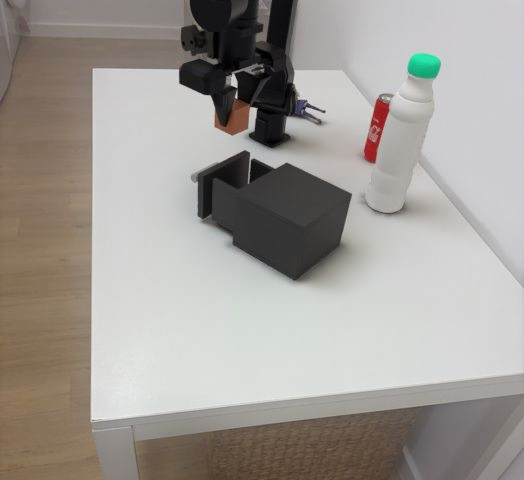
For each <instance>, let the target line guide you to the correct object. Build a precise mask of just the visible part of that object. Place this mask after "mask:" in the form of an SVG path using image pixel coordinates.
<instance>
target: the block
mask: <svg viewBox="0 0 524 480" xmlns="http://www.w3.org/2000/svg"><path fill="white" fill-rule="evenodd" d="M250 111H251V108H250V104H248V103H245V102H243V101H241V100H239V99H237V97H235V99H234V103H233V106H232V110H231V114H230V117H229V121H228V123H227V126H226V127H223V126H221V125H220V123H219V120H218V117H217V113H216V110H215V109H214V124H213V125H214V127H213V128H216V129H218V130H220V131H222V132H223V133H225V134H228V135H230V136H232V137H233V136H236V135H237V134H239V133H242V132H244V131H247V130H249V124H250Z"/></svg>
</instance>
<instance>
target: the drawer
mask: <svg viewBox="0 0 524 480" xmlns="http://www.w3.org/2000/svg"><path fill="white" fill-rule="evenodd" d="M274 169H276V168H275V167H273V166H271V165H269V164H267V163H265V162H263V161H261V160H259V159H257V158H254V157H253V158H251V152H250V151H249V150H246V149H244V150H242V151H240V152H238V153H236V154H234V155H232V156H230V157H228V158H225V159H224V160H222V161H220V162H218V161H216V162H213V163H211V164H210V165H208V166H206V167H204V168H201V169H200V170H198V171H196V172H194V173H191V174H190V180H191V181H192V182H193V183H197V217H198V218H200V219H201V220H205V219H207V218H208V217H210V216H211V220H212V221H214V222H215V223H217V224H218V225H221V226H222V227H224V228H226V229H227V230H229V231H230V232H233V225H234V209H235V192H236V191H237V190H238V189H240V188H242V187H244V186H245V185H247V184H249V183H251V182H253V181H254V180H256V179H258V178H260V177H262V176H263V175H265V174H267V173H269V172H270V171H272V170H274Z"/></svg>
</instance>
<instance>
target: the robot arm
mask: <svg viewBox="0 0 524 480" xmlns="http://www.w3.org/2000/svg"><path fill="white" fill-rule="evenodd" d="M298 2H299V0H271V1H270V9H269V10H270V11H269V16H268V24H267V31H266V38H265V40H259V41H257V36H258V34H259V33H260V34H261V33H263V32H264V23H262V22H259V8H260V0H189V9H190V13H191V16H192V17H193V20H194V21H195V24H190V25H185V26H181V27H180V43H181V47H182V50H183V51H184V52H190V56H191V57H196V56H197V55H201V54H206V58H208V59H210V60H216V63H215V64H214V63H211V62H209V61H206V60H205V59H202V58H197V59H193V60H190V61H187V62H183V63H182V64H181V66H179V68H178V84H179V85H181V86H183V87H185V88H188V89H190V90H192V91H194V92H196V93H199V94H201V95H203V96H210V98H211V100H212V104H213V106H214V111H215V110H216V113H217V117H218V120H219V123H220V125H221V126H223V127H226V126H227V123H228V121H229V117H230V114H231V110H232V106H233V103H234V99H235V98H236V99H239V100H241V101H243V102H245V103H248V104H250V109H251V108H254V109H256V115H255V121H254V129H253V131H251V132H249V133H248V137H249V138H251V139H253V140H254V141H257V142H259V143H262V144H264V145H266V146H268V147H270V148H274V147H276V146H277V145H280V144H282V143H284V142H286V141H288V140H290V139H291V135H290V134H288V133H286V126H287V118H288V117H290V116H292V115H296V114H297V112H296V108H297V100H298V99H299V97H298V96H297V92H296V90H297V88H296V84H295V83H294V81H295V74H296V73H295V69H294V67H293V63H292V60H291V58H290V57H291V56H290V51H291V46H292V40H293V34H294V33H293V32H294V27H295V20H296V15H297V9H298ZM198 26H199V27H200V28H201V29H199V27H198ZM233 75H234V78H235V80H236V84H237V85H236V86H233V85H232V77H233ZM236 96H237V97H236ZM297 98H298V99H297Z"/></svg>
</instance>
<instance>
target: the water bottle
mask: <svg viewBox="0 0 524 480" xmlns="http://www.w3.org/2000/svg"><path fill="white" fill-rule="evenodd" d="M441 66H442V61H441V59H440V58H439V57H438V56H436V55H433V54H430V53H426V52H425V53H424V52H417V53H414V54H412V55H411V56H410V58H409V61H408V63H407V71H406V75H407V78H406V79H405V82H403V83H402V84H401V85H400V87H399V89H398V90H397V91H396V92H395V93H394V96H393V98H392V99H391V102H390V105H389V113H388V116H387V119H386V122H385V125H384V128H383V132H382V135H381V139H380V143H379V147H378V152H377V157H376V163H374V165H373V167H372V170H371V173H370V180H369V183H368V185H367V188H366V192H365V196H364V199H365V202H366V204H367V205H368V206H369V208H371V209H373V210H375V211H376V212H380V213H385V214H391V213H396V212H398V211H400V210H401V209H402V208H403V206H404V204H405V201H406V198H407V193H408V189H409V187H410V186H411V182H412V179H413V175H414V170H415V168H416V165H417V163H418V160H419V157H420V154H421V151H422V149H423V147H424V143H425V139H426V136H427V133H428V130H429V129H428V128H429V124H430V120H431V119H432V118H433V116H434V114H435V101H434V100H435V99H434V90H433V82H434V81H435V80H436V79H437V77H438V76H439V73H440V70H441Z"/></svg>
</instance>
